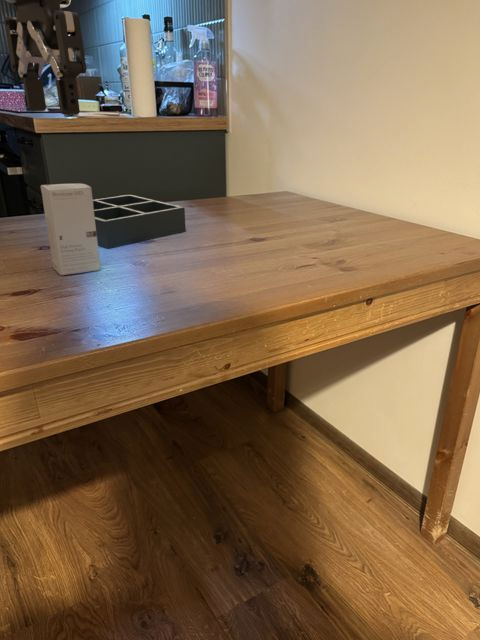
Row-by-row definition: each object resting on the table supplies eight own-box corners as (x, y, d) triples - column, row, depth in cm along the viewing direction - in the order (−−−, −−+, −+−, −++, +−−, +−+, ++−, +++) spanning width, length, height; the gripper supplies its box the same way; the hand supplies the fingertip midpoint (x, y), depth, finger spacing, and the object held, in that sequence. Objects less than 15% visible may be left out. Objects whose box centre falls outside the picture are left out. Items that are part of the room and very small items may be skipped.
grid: (55, 230, 95) (51, 205, 93) (132, 216, 106) (130, 194, 104) (107, 248, 85) (104, 221, 83) (185, 231, 96) (184, 207, 94)
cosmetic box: (60, 277, 71) (46, 189, 66) (52, 268, 75) (37, 184, 69) (103, 270, 75) (92, 186, 69) (93, 262, 78) (82, 181, 72)
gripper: (-31, -46, 57) (-1, 110, 65) (25, -65, 49) (52, 116, 57) (32, -34, 62) (54, 109, 70) (93, -50, 54) (110, 115, 62)
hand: (53, 112), depth 63 cm, fingers open, 8 cm apart
